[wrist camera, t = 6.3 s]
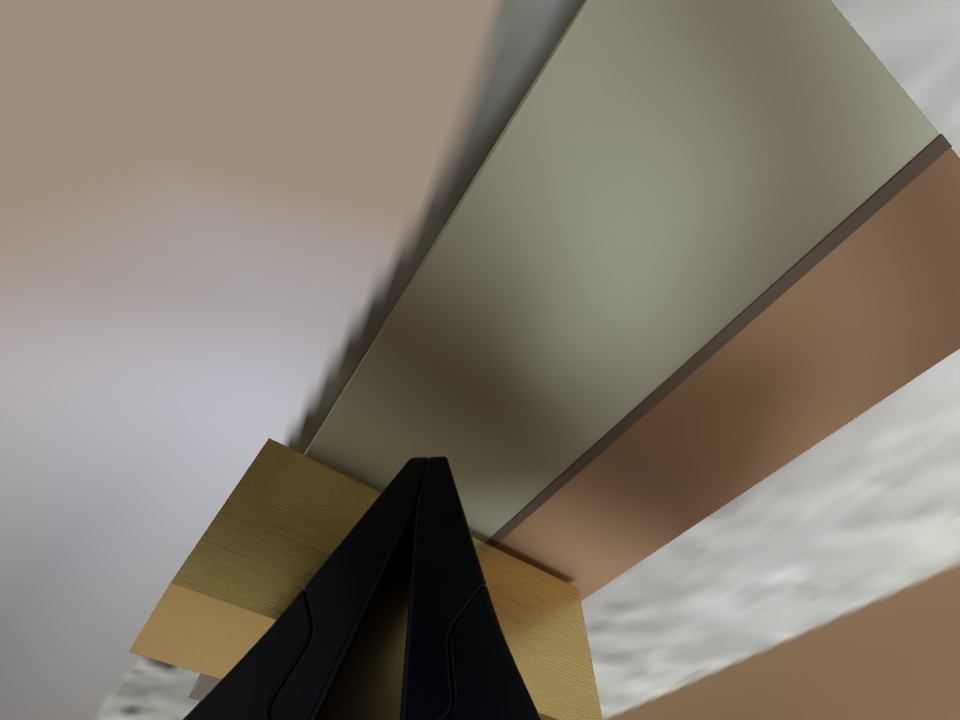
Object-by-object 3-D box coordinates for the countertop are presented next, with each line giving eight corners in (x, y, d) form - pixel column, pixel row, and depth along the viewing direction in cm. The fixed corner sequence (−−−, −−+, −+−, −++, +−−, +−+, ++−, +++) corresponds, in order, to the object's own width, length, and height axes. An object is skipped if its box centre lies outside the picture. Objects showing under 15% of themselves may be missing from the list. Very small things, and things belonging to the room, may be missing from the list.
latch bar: (578, 588, 13) (614, 783, 9) (516, 627, 14) (526, 812, 10) (269, 438, 10) (134, 635, 6) (226, 505, 11) (95, 701, 7)
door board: (499, 621, 17) (500, 656, 16) (258, 527, 14) (238, 562, 13) (992, 261, 9) (1062, 282, 8) (657, -120, 6) (693, -172, 5)
